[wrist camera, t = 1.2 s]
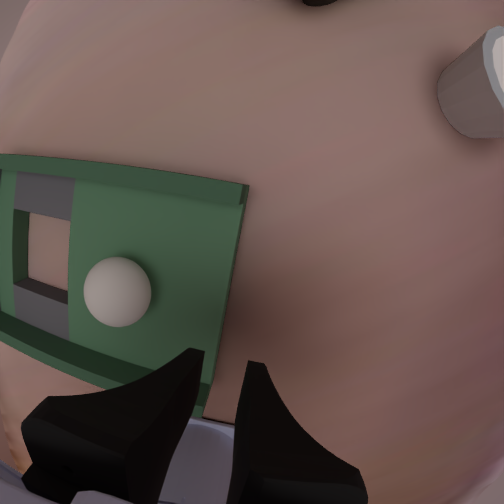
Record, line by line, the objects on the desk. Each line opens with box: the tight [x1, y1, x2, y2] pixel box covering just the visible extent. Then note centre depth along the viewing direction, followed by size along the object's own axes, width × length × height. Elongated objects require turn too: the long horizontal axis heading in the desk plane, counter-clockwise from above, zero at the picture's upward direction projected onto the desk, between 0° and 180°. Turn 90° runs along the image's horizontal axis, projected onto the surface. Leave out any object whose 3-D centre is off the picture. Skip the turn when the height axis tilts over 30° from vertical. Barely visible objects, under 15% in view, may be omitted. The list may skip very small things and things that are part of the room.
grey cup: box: [437, 26, 504, 138], centre depth 13 cm, size 7×7×7 cm
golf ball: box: [84, 257, 151, 327], centre depth 17 cm, size 4×4×4 cm
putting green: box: [0, 154, 249, 418], centre depth 16 cm, size 16×20×10 cm
